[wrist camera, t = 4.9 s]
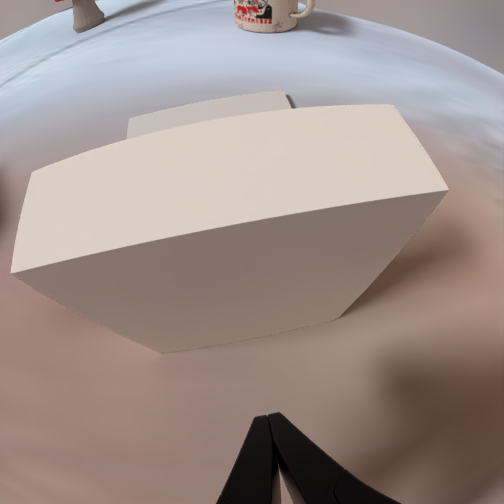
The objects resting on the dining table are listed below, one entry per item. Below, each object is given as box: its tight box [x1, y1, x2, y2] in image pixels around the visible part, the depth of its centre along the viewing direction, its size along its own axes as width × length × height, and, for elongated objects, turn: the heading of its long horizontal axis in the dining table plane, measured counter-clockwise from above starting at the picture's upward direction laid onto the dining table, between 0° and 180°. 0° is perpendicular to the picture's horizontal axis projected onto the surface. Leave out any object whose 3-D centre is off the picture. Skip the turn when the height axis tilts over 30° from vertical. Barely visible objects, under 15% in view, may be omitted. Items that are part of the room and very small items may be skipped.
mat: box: [127, 90, 292, 139], centre depth 21 cm, size 16×14×1 cm
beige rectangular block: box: [11, 105, 449, 354], centre depth 12 cm, size 3×10×12 cm, turn 101°
